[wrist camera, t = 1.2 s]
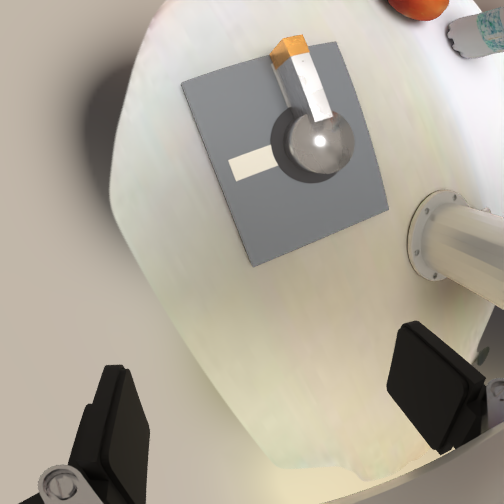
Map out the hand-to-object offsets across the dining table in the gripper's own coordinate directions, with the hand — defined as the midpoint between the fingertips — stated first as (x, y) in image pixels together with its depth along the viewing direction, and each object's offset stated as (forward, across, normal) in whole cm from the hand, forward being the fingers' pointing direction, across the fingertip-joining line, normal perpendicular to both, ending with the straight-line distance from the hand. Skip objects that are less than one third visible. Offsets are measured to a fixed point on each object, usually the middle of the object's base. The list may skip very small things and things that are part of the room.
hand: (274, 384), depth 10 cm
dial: (+23, -9, -12) cm, 27 cm away
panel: (+24, -8, -8) cm, 27 cm away
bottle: (+25, -35, -26) cm, 50 cm away
